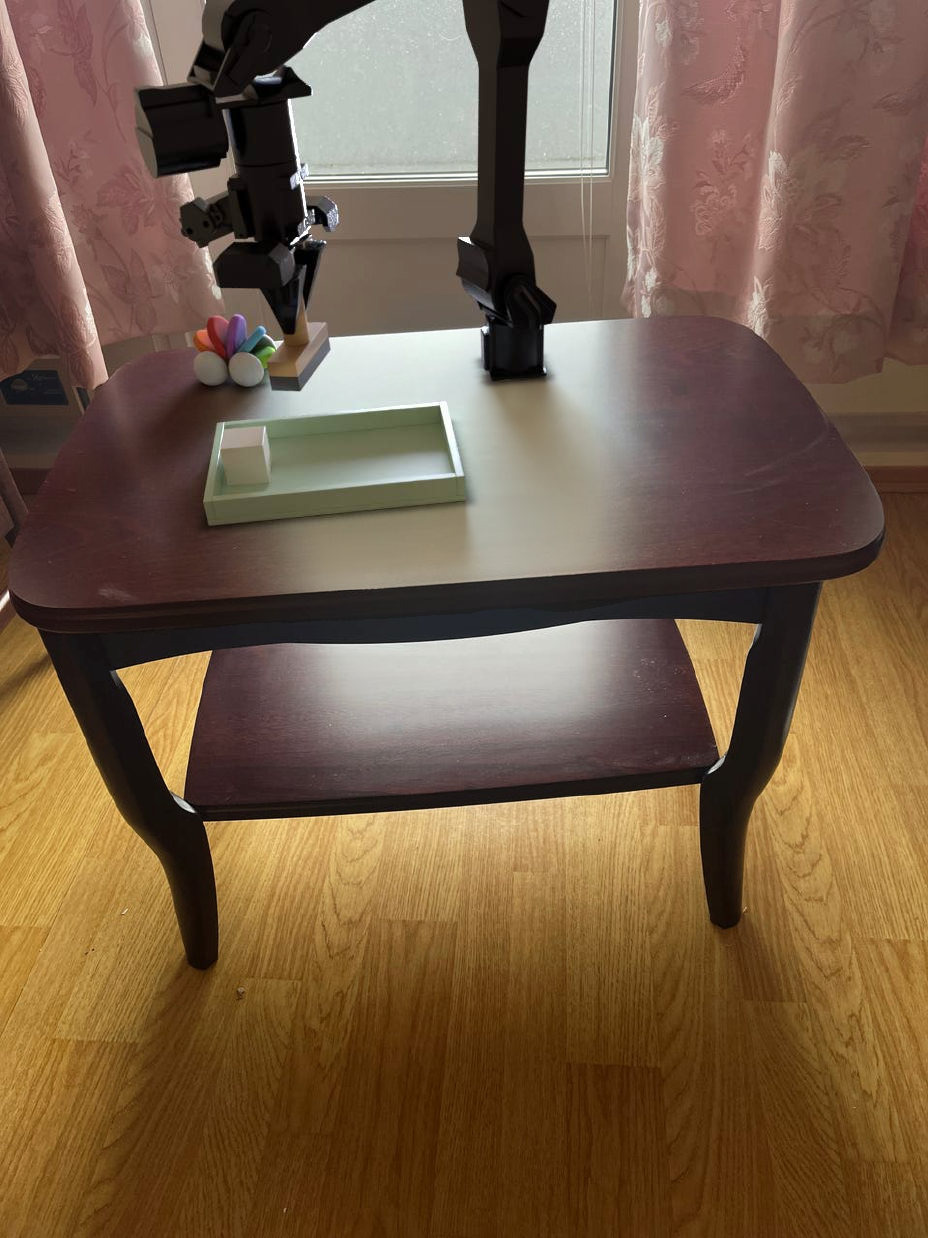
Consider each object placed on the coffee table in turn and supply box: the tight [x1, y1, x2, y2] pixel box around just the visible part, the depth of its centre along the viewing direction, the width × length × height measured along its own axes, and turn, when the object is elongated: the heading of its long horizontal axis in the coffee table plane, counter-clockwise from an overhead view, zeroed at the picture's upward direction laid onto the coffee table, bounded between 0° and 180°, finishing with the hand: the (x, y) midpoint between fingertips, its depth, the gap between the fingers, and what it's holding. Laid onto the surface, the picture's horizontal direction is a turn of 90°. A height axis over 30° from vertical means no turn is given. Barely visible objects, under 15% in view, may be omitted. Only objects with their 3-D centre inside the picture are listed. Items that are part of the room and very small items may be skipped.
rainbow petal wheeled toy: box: [192, 313, 278, 388], centre depth 110 cm, size 8×10×7 cm
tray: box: [202, 401, 467, 527], centre depth 92 cm, size 24×16×3 cm, turn 97°
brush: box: [266, 293, 332, 392], centre depth 94 cm, size 3×10×9 cm, turn 169°
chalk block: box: [220, 426, 272, 486], centre depth 91 cm, size 4×4×4 cm
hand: (294, 328), depth 94 cm, fingers closed on brush, 3 cm apart
